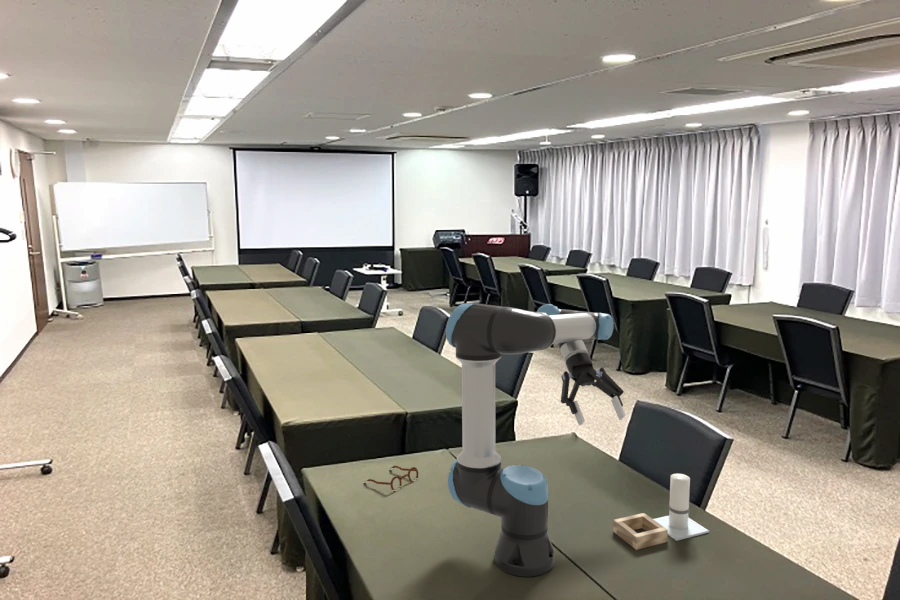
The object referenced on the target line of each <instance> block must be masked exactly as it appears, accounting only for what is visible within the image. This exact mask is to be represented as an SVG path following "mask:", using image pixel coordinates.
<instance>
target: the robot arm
mask: <svg viewBox="0 0 900 600" xmlns="http://www.w3.org/2000/svg"><path fill="white" fill-rule="evenodd" d="M613 332H614V319H613V316H612V315H610V314H609V313H602V312H591V311H583V310H581V311H580V310H572V309H562V308H561V309H560V308H558V306H556V305H553V304H551V303H546V304H543V305H542V306H540V307H539V308H538V309H537V311H532V310H525V309H520V308H516V307H511V306H501V305H500V306H499V305H493V304H492V305H491V304H484V303H478V302H477V303H475V302H474V303H462V304H459V305H458V306H456V307H455V308H454V310H452V313H451V314H450V315H449V317H448V319H447V322H446V327H445V338H446V341H447V342H448V344H449V345H450V346H451V347H453V348H455V358H456V359H457V360H458V361H459V362H460V363H461V415H462V416H461V419H462V420H461V423H462V427H461V428H462V429H461V430H462V432H461V433H462V437H461V438H462V439H461V442H462V445H461V446H462V451H461V452H460V453H458V455H457V457H456V459H455V460H454V461H453V463H452V464H451V466H450V468H449V470H450V471H448V475H447V487H448V491H449V494H450V496H451V497H452V499H453V500H454V501H455V502H456V503H458V504H461V505H463V506H465V507H467V508H469V509H470V508H473V509H475V510H477V511H481V512H483V513H484V512H485V513H487V514H491V515H493V516H496V517H500V520H501V521H500V523H501V524H500V525H501V531H500V534H499V537H498V540H497V543H496V545H495V548H494V562H495V564H496V566H497V567H498V568H499V569H500V570H502V571H503V572H505V573H507V574H509V575H512V576H517V577H526V578H528V577H529V578H530V577H538V576H540V575H544V574H546V573H548V572H549V571H550V570H552V569H553V568H554V565H555V551H554V550H555V549H554V547H553V544H552V541H551V538H550V535H549V532H548V531H549V530H548V527H549V525H548V524H549V496H550V493H549V485H548V480H547V479H546V476H545V475H544V474H543V473H542V472H541V471H540V470H538V469H536V468H534V467H531V466H528V465H525V464H524V465H523V464H521V465H518V464H511V465H508V466H505V467H504V468H502V457H501V455H500V454H499V452H497V451H496V363H497V362H498V361H499V360H500V359H502V355H519V354H520V355H521V354H527V353H532V352H537V351H543V350H546V349H548V348H549V347H550V348H551V346H552V345H556V344H557V346H558V348H559V350H560V353H561V356H562V358H563V361H564V362H565V366H566V368H567V370H568V371H564V372H563V373H562V375H561V381H562V384H561V385H562V387H561V395H560V396H561V397H560V403H561V404H565V405H566V407H568V408H569V409H570V413H571V414H572V415H574V417H575V420H576V423H577V424H578V426H582V425H583V424H584V422H586V420H585V418H584V415H583V412H582V410H581V408H580V404H579V403H578V400H575V398H576V396H577V393H578V391H579V388H580V387H585V386H587V387H589V386H593V387H595V388H597V389H599V391H601V392H603V393H604V394H606V396H608V397H610V398H611V400H610V401H611V404H612V407H613V410H614V411H615V414H616V415H617V418H618V420H619V421H622V420H623V419H624V418H625V417H626V415H627V414H626V413H625V411H624V407H623V406H624V404H623V402H622V399H621V396H622V395H623V393H625V392H624V389H622V388H621V387H620V386H619V384H617V382H615V381H614V379H612V378H611V376H609V374H608V373H607V372H606V370H605V368H604V367H600V368H599V369H595V368H594V365H593V361H592V358H591V357H590V355H589V353H588V349H587V347H586V345H585V342H584V341H583V340H588V339H589V340H590V339H591V340H592V339H593V340H598V341H599V340H605V341H606V340H608V339H610V338H611V337H612V335H613ZM571 380H573V381H574V384H573V385H572V389H571V391H570V394H569V389H570V381H571Z"/></svg>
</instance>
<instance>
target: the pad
mask: <svg viewBox="0 0 900 600" xmlns="http://www.w3.org/2000/svg"><path fill="white" fill-rule="evenodd" d="M652 519H653V520H655V521H656V522H658V523H659V524H660V525H662V526H663V527H665V528H666V529H668V537H670V538H671V539H673V540H674V541H677V542H678V541H681V540H684V539H690V538H694V537H696V536H697V537H698V536H701V535H704V534H708V533H709V532H710V530H708V529H707V528H705V527H704V526H702V525H701V524H699V523H698V522H696V521H694V520H693V519H692V518H690V517H688V528H687V529H683V530H679V529H675V528H672V527H671V526H670V525H669V515H664V516H661V517H657V518H652Z"/></svg>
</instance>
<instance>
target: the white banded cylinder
mask: <svg viewBox="0 0 900 600" xmlns="http://www.w3.org/2000/svg"><path fill="white" fill-rule="evenodd" d="M669 483H670V484H669V486H670V487H669V504H668V511H669V512H668V513H669V515H668V516H669V525H670V526H671V527H672V528H675V529H679V530H683V529H687V528H688V518H689V513H690V510H691V509H690V489H691V488H690V486H691V478H690V476H688V475H686V474H684V473H673V474H670V482H669Z"/></svg>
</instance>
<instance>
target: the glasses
mask: <svg viewBox="0 0 900 600" xmlns="http://www.w3.org/2000/svg"><path fill="white" fill-rule="evenodd" d="M391 468H394V469H395V468H396V469H399V470H400V471H405V472H407V473H405V474H403V475H402V476H401V477H400V476H398V475H395V476H393V477H392V478H391V480H390V482H387V481H386V482H385V481H377V480H375V479H373V478H368V479H367V480H366V481H369V482H372V483H375V484H378V485H388V486H390V489H391V491H392V490H395V488H394V485H393V484H394V481H395V480H396V479H398V482H399V486H401V487H402V484H403V483H402V479H405V478H406V477H407V478H408V480H409V482H410V481H412V479H411V472H415V473H416V476H415V478H419V470H418V468H417V467H416V466H412V467H410V468H404V467H403V468H402V467H401V466H398V465H393V466H392V467H391Z"/></svg>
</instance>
